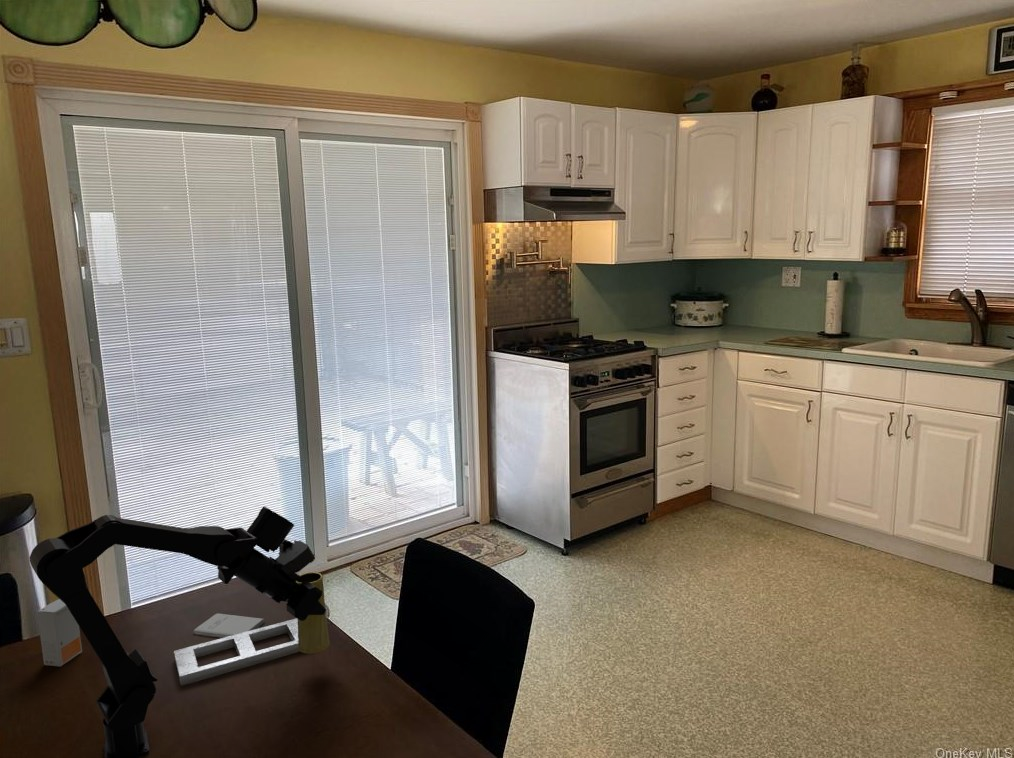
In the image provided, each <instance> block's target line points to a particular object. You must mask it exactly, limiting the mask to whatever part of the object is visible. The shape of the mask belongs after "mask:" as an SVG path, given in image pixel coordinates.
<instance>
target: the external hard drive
mask: <svg viewBox="0 0 1014 758" xmlns="http://www.w3.org/2000/svg"><path fill="white" fill-rule="evenodd" d="M264 623H265V619H264V618H261V617H260V618H259V617H251V616H241V615H233V614H227V613H226V614H224V613H215V614H214V615H212V616H211V617H209V618H208V619H207V620H206V621H204V622H202V624H199V626H197V627H195V629H194V630H193V635H200V636H206V637H214V638H218V639H221V638H224V637H228V636H232V635H236V634H239V633H243V632H247V631H251V630H255V629H258V628H260V627H261V626H262V625H263V624H264Z"/></svg>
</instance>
